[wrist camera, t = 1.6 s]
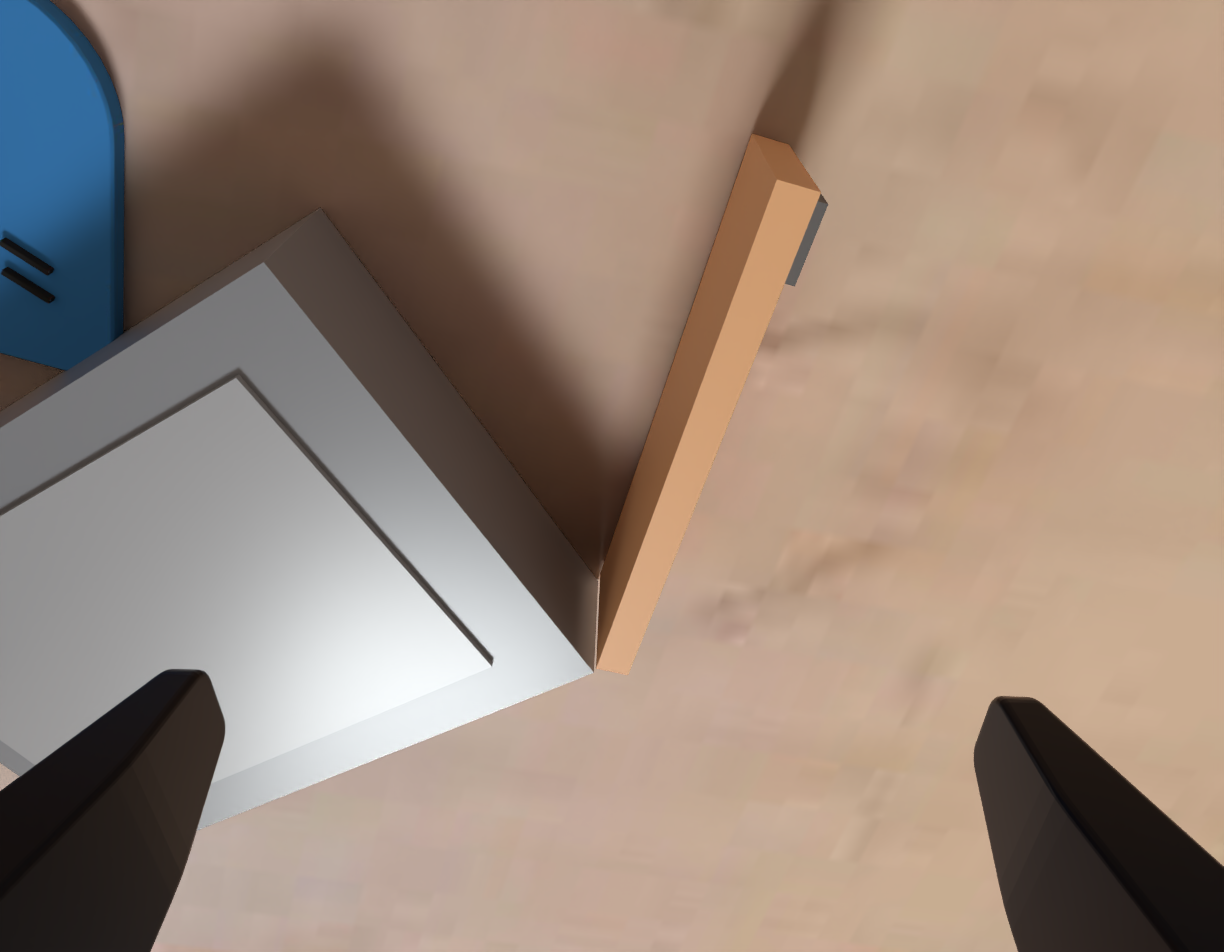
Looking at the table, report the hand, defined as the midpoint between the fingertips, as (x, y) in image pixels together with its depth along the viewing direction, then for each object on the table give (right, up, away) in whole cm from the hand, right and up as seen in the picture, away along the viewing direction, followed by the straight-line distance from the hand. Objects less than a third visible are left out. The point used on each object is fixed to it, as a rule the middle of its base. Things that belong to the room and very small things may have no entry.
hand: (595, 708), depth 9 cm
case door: (+2, +5, +12) cm, 13 cm away
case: (-10, +1, +15) cm, 18 cm away
